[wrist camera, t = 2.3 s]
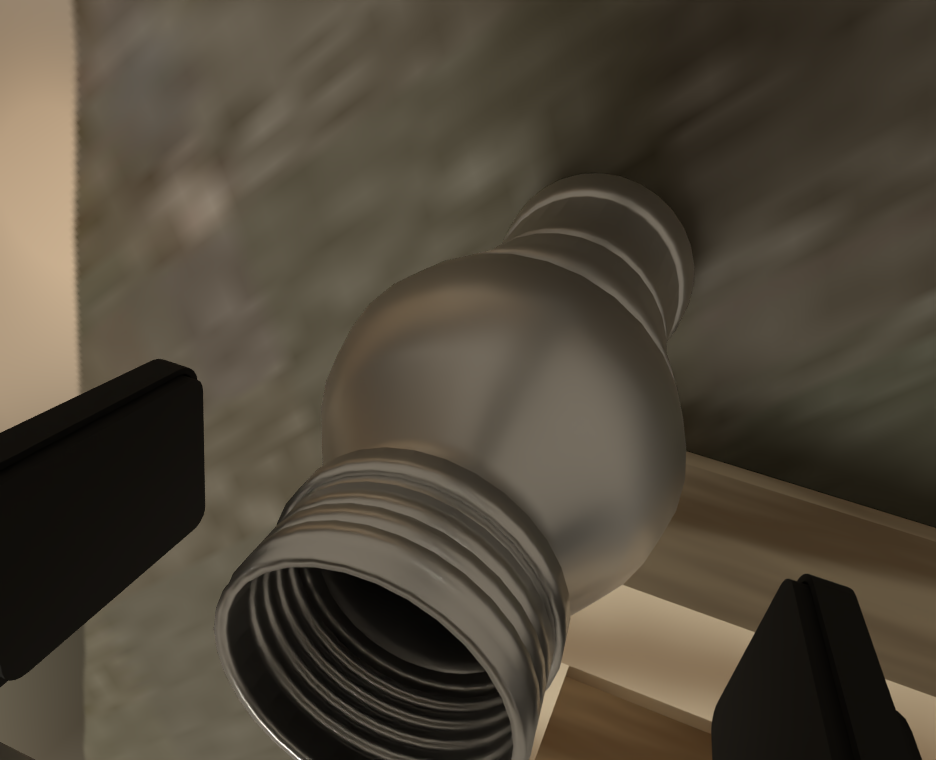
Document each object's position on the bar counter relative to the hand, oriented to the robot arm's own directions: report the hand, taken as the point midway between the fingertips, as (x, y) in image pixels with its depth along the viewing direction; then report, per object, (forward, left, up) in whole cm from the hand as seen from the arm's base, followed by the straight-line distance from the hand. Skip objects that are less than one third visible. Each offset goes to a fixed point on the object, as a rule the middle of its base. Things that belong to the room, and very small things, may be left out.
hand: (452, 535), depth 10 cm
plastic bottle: (-1, 0, -17) cm, 17 cm away
